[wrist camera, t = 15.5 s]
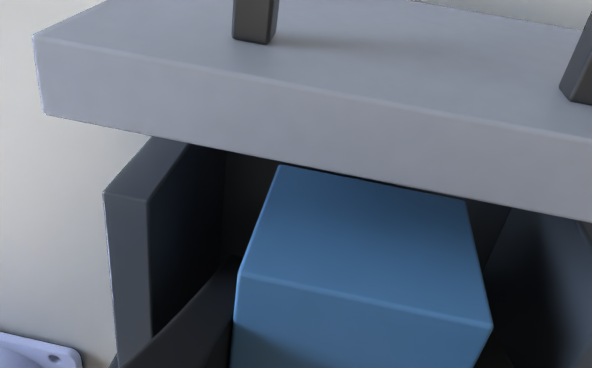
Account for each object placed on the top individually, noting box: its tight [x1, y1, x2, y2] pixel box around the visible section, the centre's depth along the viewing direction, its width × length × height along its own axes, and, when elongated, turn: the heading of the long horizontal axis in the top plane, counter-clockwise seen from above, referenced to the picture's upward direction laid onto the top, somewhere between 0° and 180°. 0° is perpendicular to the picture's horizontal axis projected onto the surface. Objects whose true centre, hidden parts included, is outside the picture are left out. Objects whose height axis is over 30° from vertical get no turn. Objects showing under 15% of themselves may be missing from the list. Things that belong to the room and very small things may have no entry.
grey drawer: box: [32, 0, 592, 368], centre depth 11 cm, size 17×10×6 cm, turn 172°
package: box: [229, 165, 494, 368], centre depth 10 cm, size 4×5×4 cm
